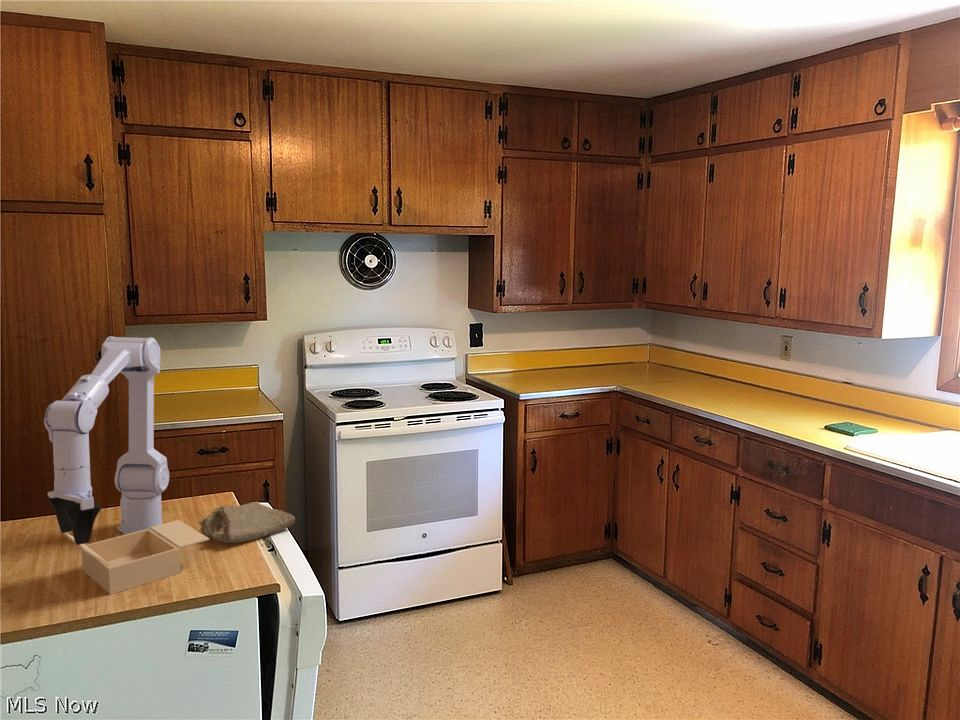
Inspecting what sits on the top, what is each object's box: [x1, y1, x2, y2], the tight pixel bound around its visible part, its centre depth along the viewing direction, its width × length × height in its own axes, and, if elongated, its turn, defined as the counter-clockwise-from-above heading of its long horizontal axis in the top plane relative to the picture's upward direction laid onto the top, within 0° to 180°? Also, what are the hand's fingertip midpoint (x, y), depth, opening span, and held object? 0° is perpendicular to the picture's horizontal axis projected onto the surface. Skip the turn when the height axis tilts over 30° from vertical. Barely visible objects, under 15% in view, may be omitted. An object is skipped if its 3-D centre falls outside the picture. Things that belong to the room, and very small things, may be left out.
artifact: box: [198, 501, 296, 544], centre depth 164 cm, size 18×7×15 cm
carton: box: [80, 519, 210, 596], centre depth 145 cm, size 14×19×5 cm
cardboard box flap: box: [56, 526, 110, 566], centre depth 136 cm, size 14×6×1 cm
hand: (75, 537), depth 135 cm, fingers open, 7 cm apart
